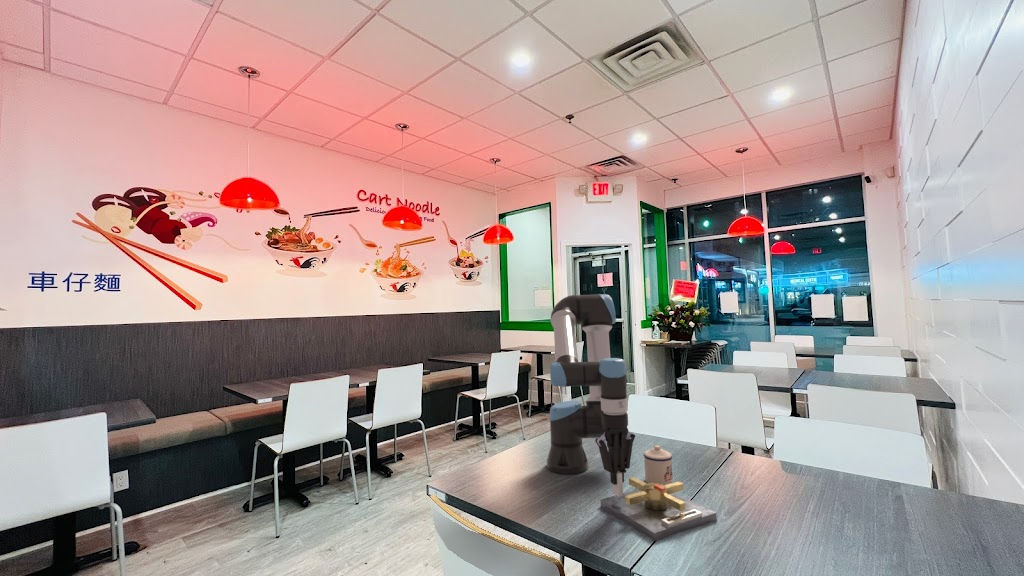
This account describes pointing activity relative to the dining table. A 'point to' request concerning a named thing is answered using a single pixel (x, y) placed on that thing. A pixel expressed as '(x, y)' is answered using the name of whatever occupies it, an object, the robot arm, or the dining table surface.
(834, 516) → the dining table surface
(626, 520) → the stand
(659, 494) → the capstan
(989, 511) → the dining table surface
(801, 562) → the dining table surface
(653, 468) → the teacup with lid
